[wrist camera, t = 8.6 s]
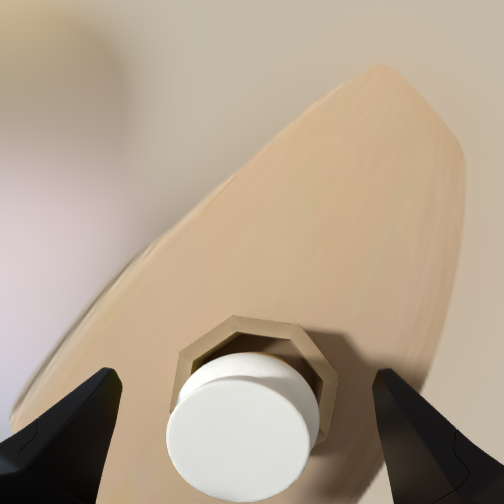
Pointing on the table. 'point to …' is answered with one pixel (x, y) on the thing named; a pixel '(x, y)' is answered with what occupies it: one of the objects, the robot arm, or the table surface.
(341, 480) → the table surface
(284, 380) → the supplement bottle
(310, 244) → the table surface
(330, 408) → the can holder
